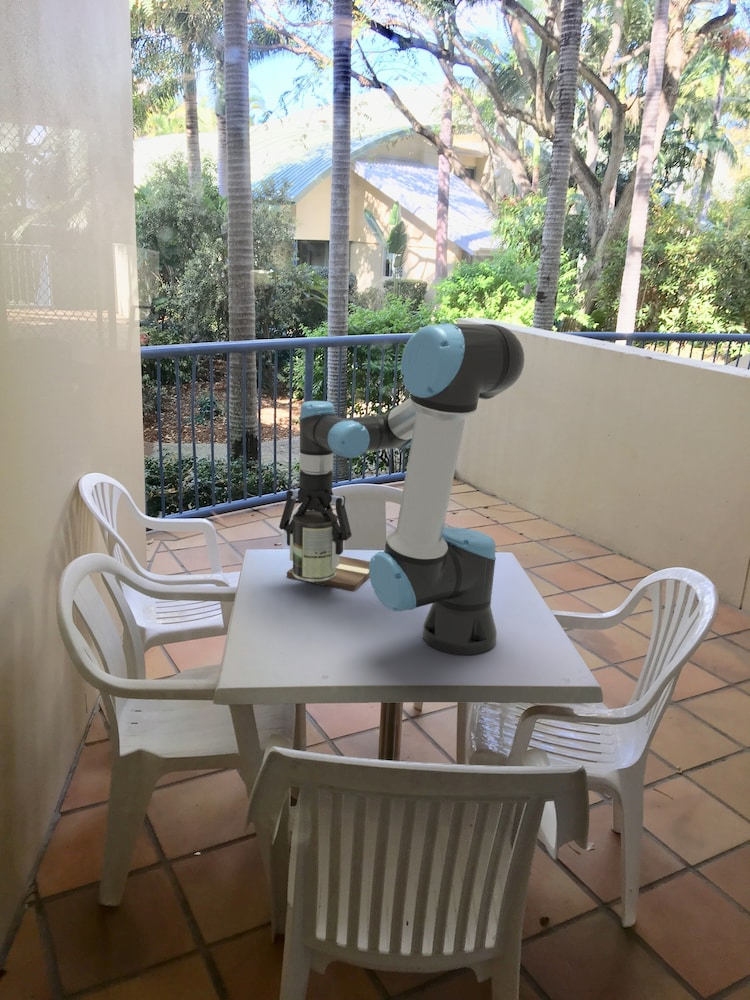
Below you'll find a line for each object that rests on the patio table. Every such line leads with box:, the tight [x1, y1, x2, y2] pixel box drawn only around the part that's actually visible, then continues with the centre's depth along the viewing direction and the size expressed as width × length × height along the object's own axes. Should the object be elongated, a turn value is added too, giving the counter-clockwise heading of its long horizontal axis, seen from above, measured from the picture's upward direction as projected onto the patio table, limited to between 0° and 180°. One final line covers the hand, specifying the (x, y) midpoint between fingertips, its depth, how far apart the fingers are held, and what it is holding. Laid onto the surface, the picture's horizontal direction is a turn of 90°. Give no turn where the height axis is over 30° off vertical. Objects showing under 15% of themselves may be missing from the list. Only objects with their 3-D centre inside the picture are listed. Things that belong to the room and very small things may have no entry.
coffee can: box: [292, 510, 339, 583], centre depth 172 cm, size 10×10×14 cm
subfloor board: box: [286, 555, 370, 592], centre depth 185 cm, size 16×18×2 cm
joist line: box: [336, 564, 369, 575], centre depth 186 cm, size 3×18×1 cm, turn 68°
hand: (314, 562), depth 173 cm, fingers closed on coffee can, 10 cm apart
